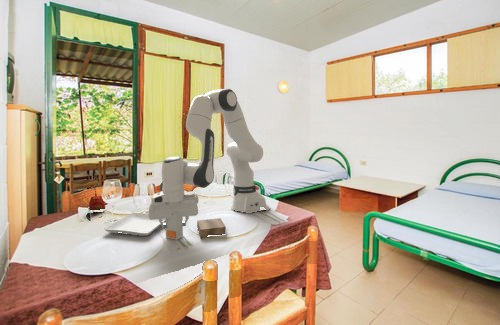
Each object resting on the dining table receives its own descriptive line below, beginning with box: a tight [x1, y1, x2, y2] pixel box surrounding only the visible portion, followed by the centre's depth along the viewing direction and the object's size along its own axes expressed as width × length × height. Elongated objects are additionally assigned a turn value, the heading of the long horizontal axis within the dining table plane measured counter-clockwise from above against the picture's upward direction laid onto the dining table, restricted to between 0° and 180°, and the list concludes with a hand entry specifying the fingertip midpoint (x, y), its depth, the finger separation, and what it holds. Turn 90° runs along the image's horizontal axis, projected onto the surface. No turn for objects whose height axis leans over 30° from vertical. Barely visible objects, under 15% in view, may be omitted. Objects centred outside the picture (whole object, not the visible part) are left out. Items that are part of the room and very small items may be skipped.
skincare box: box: [165, 211, 184, 241], centre depth 110 cm, size 6×4×12 cm
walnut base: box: [196, 217, 227, 239], centre depth 117 cm, size 11×11×4 cm
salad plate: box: [103, 212, 165, 237], centre depth 120 cm, size 21×21×3 cm
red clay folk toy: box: [88, 184, 106, 211], centre depth 140 cm, size 8×7×15 cm
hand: (174, 226), depth 110 cm, fingers open, 7 cm apart
